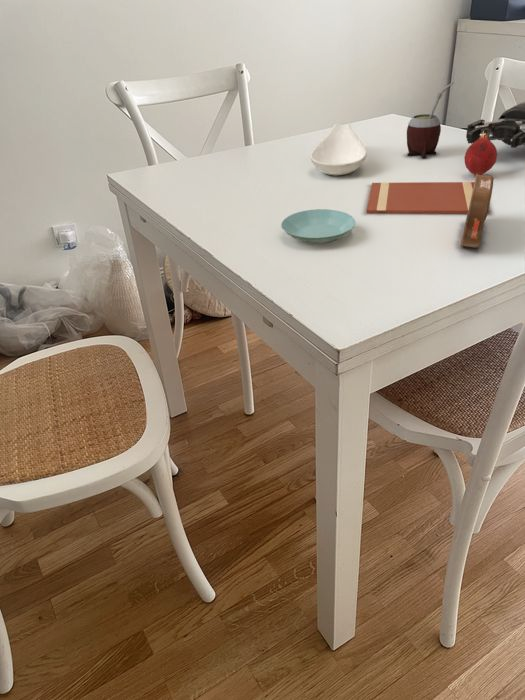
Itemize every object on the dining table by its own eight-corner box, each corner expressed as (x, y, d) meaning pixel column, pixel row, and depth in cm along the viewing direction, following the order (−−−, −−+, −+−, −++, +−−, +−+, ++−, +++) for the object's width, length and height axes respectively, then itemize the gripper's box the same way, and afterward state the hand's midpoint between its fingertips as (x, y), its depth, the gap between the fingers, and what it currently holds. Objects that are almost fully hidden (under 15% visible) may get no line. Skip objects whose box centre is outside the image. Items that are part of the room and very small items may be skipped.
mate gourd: (402, 151, 124) (407, 79, 115) (438, 149, 123) (445, 76, 114) (408, 160, 117) (414, 85, 109) (445, 158, 117) (454, 82, 108)
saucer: (369, 231, 87) (370, 218, 86) (322, 257, 81) (321, 242, 80) (315, 216, 95) (314, 204, 93) (267, 239, 88) (266, 225, 87)
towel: (480, 185, 101) (480, 181, 101) (488, 214, 89) (489, 210, 89) (372, 185, 106) (372, 182, 106) (366, 213, 94) (366, 210, 94)
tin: (466, 218, 89) (473, 166, 84) (486, 219, 88) (495, 166, 83) (458, 256, 77) (466, 198, 73) (481, 258, 76) (491, 200, 72)
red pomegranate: (489, 182, 102) (496, 138, 97) (458, 179, 105) (464, 136, 100) (496, 173, 106) (503, 131, 101) (466, 171, 109) (472, 129, 104)
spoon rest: (365, 180, 109) (366, 143, 105) (308, 181, 111) (306, 145, 107) (367, 148, 128) (368, 116, 124) (317, 150, 130) (317, 119, 126)
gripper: (491, 101, 116) (458, 117, 106) (562, 105, 108) (533, 122, 98) (486, 137, 120) (453, 156, 110) (554, 144, 112) (525, 164, 102)
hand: (491, 140), depth 104 cm, fingers open, 8 cm apart
